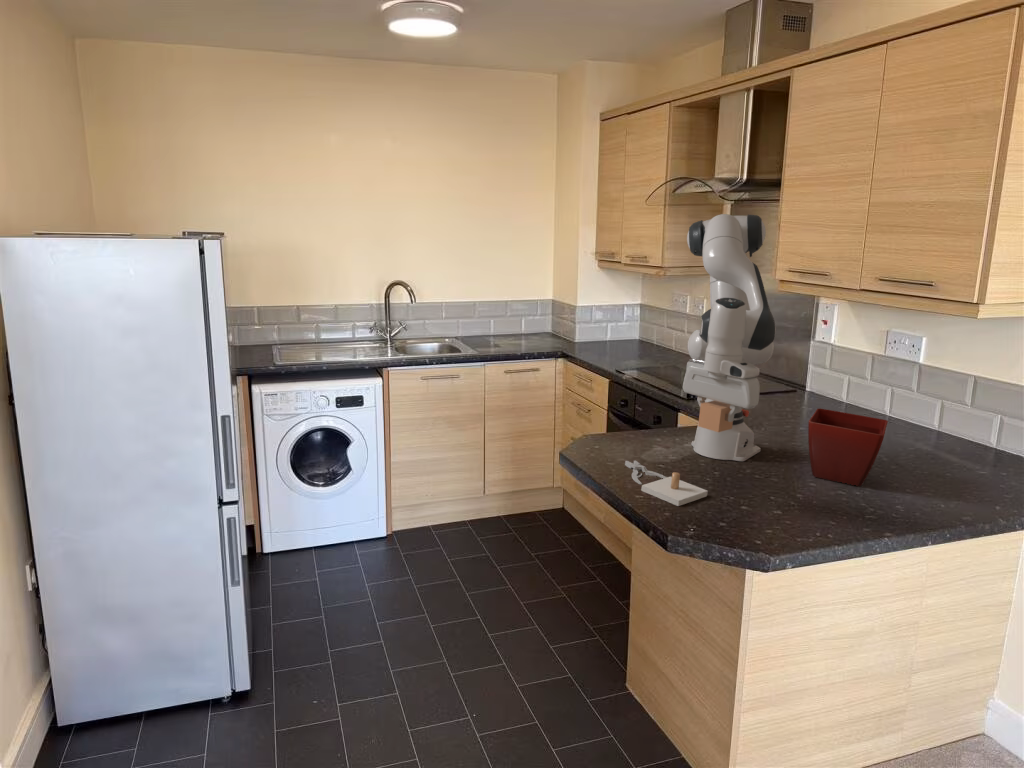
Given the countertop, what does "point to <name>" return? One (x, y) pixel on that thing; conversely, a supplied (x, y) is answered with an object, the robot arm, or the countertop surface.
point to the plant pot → (844, 445)
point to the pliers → (639, 467)
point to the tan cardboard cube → (714, 416)
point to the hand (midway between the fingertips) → (716, 417)
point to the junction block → (674, 490)
